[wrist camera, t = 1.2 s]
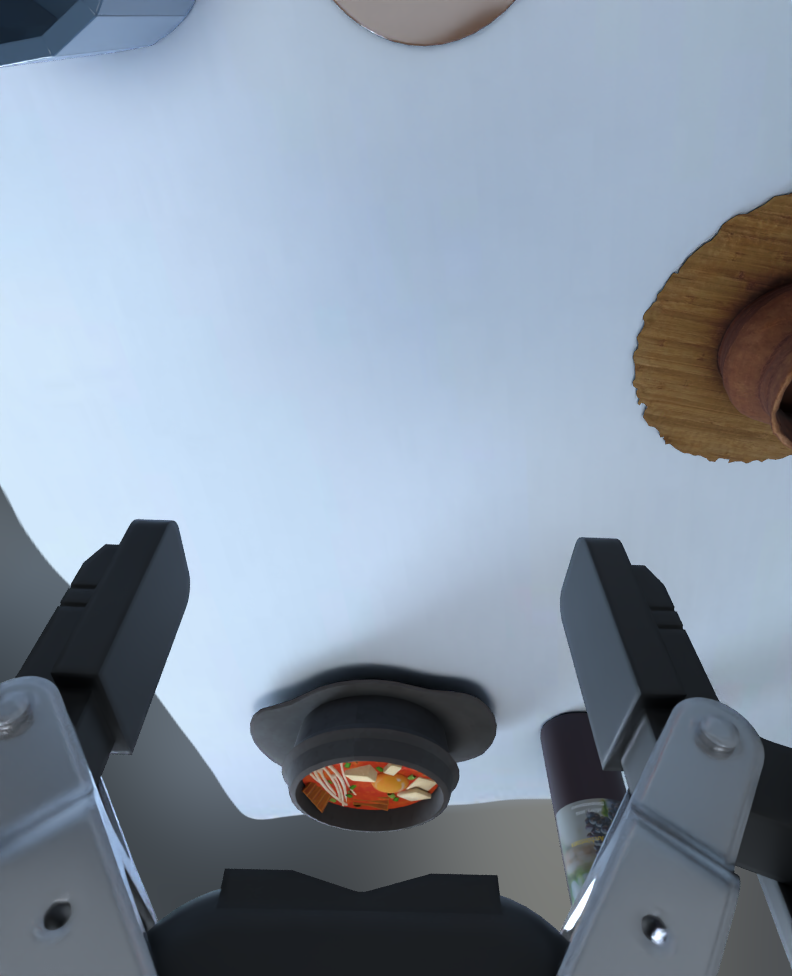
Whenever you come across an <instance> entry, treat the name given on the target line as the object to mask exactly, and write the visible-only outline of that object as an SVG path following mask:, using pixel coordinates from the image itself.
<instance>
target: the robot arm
mask: <svg viewBox="0 0 792 976" xmlns="http://www.w3.org/2000/svg"><path fill="white" fill-rule="evenodd" d="M189 592H190V576H189V571H188V567H187V562H186V558H185V553H184V549H183V545H182V540H181V536H180V531H179V528H178V525H177V523H176V522H175V521H170V520H144V519H136V520H134V521H133V522H132V523H131V524H130V526H129V528H128V529H127V531H126V533H125V535H124V537H123V539H122V541H121V542H120V544H119V545H111V544H105V545H104V546H103V547H102V548H100V549H99V550H98V551H97V552H96V553H94V554H93V555H92V556H91V557H90V558H89V559H87V560H86V561H85V562H84V563H83V565H82V566H81V568H80V570H79V571H78V573H77V575H76V576H75V578H74V580H73V581H72V583H71V588H70V589H68V590H67V592H66V593H65V595H64V597H63V598H62V600H61V605H60V607H59V606H58V607H57V609H56V610H55V612H54V614H53V616H52V617H51V619H50V620H49V622H48V624H47V625H46V627H45V629H44V631H43V632H42V634H41V636H40V637H39V639H38V641H37V643H36V644H35V646H34V648H33V649H32V651H31V653H30V654H29V656H28V658H27V659H26V661H25V663H24V665H23V666H22V668H21V670H20V671H19V673H18V674H17V676H16V677H15V678H14V679H11V680H8V681H5V682H3V683H0V976H717V974H718V971H719V967H720V964H721V960H722V956H723V952H724V949H725V945H726V941H727V938H728V934H729V930H730V926H731V923H732V919H733V915H734V912H735V907H736V904H737V900H738V895H739V891H740V878H739V876H738V875H737V874H735V873H734V867H735V866H738V867H741V868H743V869H746V870H749V871H751V872H754V873H757V876H758V878H759V881H760V884H761V886H762V889H763V892H764V895H765V897H766V900H767V903H768V906H769V908H770V911H771V914H772V916H773V919H774V922H775V925H776V927H777V930H778V933H779V935H780V938H781V941H782V944H783V947H784V949H785V952H786V955H787V957H788V960H789V963H790V966H791V968H792V748H789V747H786V746H783V745H780V744H777V743H774V742H771V741H768V740H766V739H763V738H761V737H759V735H758V734H757V732H756V731H755V729H754V728H753V726H752V725H751V724H750V723H749V722H748V721H747V720H746V719H745V718H744V717H743V716H742V715H741V714H739V713H738V712H737V711H735V710H734V709H732V708H731V707H729V706H727V705H725V704H723V703H721V702H720V701H719V700H718V698H717V696H716V694H715V692H714V690H713V688H712V685H711V683H710V681H709V679H708V677H707V675H706V673H705V671H704V669H703V666H702V664H701V662H700V660H699V658H698V656H697V654H696V652H695V649H694V647H693V645H692V643H691V641H690V639H689V637H688V635H687V633H686V630H683V624H682V622H681V620H680V618H679V616H678V614H677V611H674V605H673V603H672V601H671V599H670V597H669V595H668V592H667V590H666V588H665V586H664V585H663V584H662V583H661V582H660V581H659V580H658V579H657V578H656V577H655V576H654V574H653V573H652V572H651V571H650V570H649V569H648V568H647V567H646V566H643V565H631V563H630V561H629V559H628V556H627V554H626V552H625V549H624V547H623V545H622V543H621V542H620V540H618V539H611V538H585V537H581V538H579V539H578V540H577V542H576V544H575V547H574V550H573V554H572V557H571V560H570V563H569V567H568V570H567V573H566V577H565V580H564V583H563V586H562V590H561V596H560V612H561V619H562V623H563V626H564V630H565V634H566V637H567V641H568V645H569V648H570V652H571V656H572V659H573V663H574V667H575V670H576V674H577V678H578V681H579V685H580V689H581V692H582V696H583V700H584V703H585V707H586V711H587V714H588V718H589V722H590V725H591V729H592V733H593V736H594V740H595V744H596V747H597V751H598V755H599V758H600V762H601V766H602V769H603V771H624V774H625V777H626V780H627V784H628V787H629V788H628V790H627V792H626V793H625V795H624V798H623V800H622V802H621V804H620V806H619V808H618V811H617V813H616V815H615V817H614V819H613V821H612V824H611V826H610V828H609V830H608V832H607V834H606V837H605V839H604V841H603V843H602V845H601V847H600V849H599V852H598V854H597V856H596V858H595V860H594V862H593V865H592V867H591V869H590V871H589V873H588V875H587V878H586V880H585V882H584V884H583V886H582V888H581V890H580V892H579V894H578V896H577V898H576V899H575V901H574V903H573V905H572V907H571V910H570V911H569V914H568V916H567V918H566V920H565V922H564V924H563V926H562V928H561V930H560V932H559V931H558V930H556V928H554V927H553V926H552V925H551V924H550V923H548V922H547V921H546V920H545V919H543V918H542V917H541V916H539V915H538V914H536V913H535V912H533V911H532V910H530V909H529V908H527V907H526V906H523V905H521V904H519V903H517V902H515V901H513V900H511V899H509V898H506V897H503V896H500V893H499V885H498V877H497V875H463V874H428V875H425V876H422V877H418V878H414V879H410V880H407V881H403V882H400V883H396V884H392V885H389V886H386V887H381V888H378V889H374V890H371V891H366V892H357V891H353V890H350V889H347V888H344V887H341V886H338V885H335V884H332V883H329V882H326V881H323V880H320V879H317V878H314V877H311V876H308V875H305V874H302V873H299V872H296V871H293V870H258V869H256V870H255V869H225V871H224V876H223V881H222V886H221V889H219V890H215V891H212V892H209V893H206V894H204V895H202V896H199V897H197V898H194V899H192V900H191V901H189V902H187V903H185V904H184V905H182V906H180V907H178V908H176V909H175V910H174V911H172V912H171V913H170V914H168V915H167V916H166V917H164V918H163V919H161V920H160V921H159V922H158V920H157V918H156V915H155V913H154V910H153V908H152V905H151V902H150V900H149V898H148V895H147V893H146V891H145V888H144V886H143V884H142V881H141V879H140V877H139V874H138V872H137V869H136V867H135V864H134V862H133V859H132V856H131V854H130V851H129V848H128V845H127V843H126V840H125V837H124V835H123V832H122V830H121V827H120V824H119V821H118V819H117V816H116V814H115V811H114V808H113V805H112V803H111V800H110V797H109V795H108V792H107V789H106V787H105V784H104V782H103V779H102V777H101V775H102V773H103V770H104V768H105V765H106V763H107V760H108V758H109V755H110V754H116V755H118V754H119V755H132V753H133V750H134V747H135V745H136V742H137V739H138V736H139V734H140V731H141V728H142V725H143V723H144V720H145V717H146V714H147V712H148V709H149V707H150V704H151V701H152V698H153V696H154V693H155V690H156V688H157V685H158V682H159V679H160V677H161V674H162V671H163V669H164V666H165V663H166V660H167V658H168V655H169V652H170V650H171V647H172V644H173V641H174V639H175V636H176V633H177V631H178V628H179V625H180V622H181V620H182V617H183V614H184V612H185V609H186V606H187V603H188V598H189Z"/></svg>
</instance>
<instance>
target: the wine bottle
mask: <svg viewBox="0 0 792 976" xmlns="http://www.w3.org/2000/svg"><path fill="white" fill-rule="evenodd" d="M541 744H542V749H543V755H544V760H545V766H546V771H547V777H548V782H549V788H550V793H551V798H552V804H553V809H554V815H555V820H556V825H557V831H558V836H559V842H560V847H561V853H562V858H563V864H564V869H565V875H566V880H567V886H568V891H569V896H570V901H571V907H572V905H573V903H574V901H575V899H576V898H577V896H578V894H579V892H580V890H581V888H582V886H583V884H584V882H585V880H586V878H587V875H588V873H589V871H590V869H591V867H592V865H593V862H594V860H595V858H596V856H597V854H598V852H599V849H600V847H601V845H602V843H603V841H604V839H605V837H606V834H607V832H608V830H609V828H610V826H611V824H612V821H613V819H614V817H615V815H616V813H617V811H618V808H619V806H620V804H621V802H622V800H623V798H624V795H625V793H626V788H625V785H624V781H623V777H622V774H621V771H603V769H602V766H601V762H600V758H599V755H598V751H597V747H596V744H595V740H594V736H593V733H592V729H591V725H590V722H589V718H588V714H587V713H570V714H564V715H560V716H558V717H555V718H553V719H551V720H549V721H548V722H547V723H546V724H545V725H544V726H543V727H542V730H541Z"/></svg>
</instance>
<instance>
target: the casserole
mask: <svg viewBox="0 0 792 976" xmlns="http://www.w3.org/2000/svg"><path fill="white" fill-rule="evenodd" d="M496 727H497V725H496V721H495V718H494V715H493V713H492V712H491V710H490V709H489V707H488V706H487V705H486V704H485V703H484V702H482V701H481V700H480V699H479V698H476V697H474V696H471V695H469V694H466V693H460V692H453V691H440V690H430V689H426V688H421V687H417V686H413V685H408V684H404V683H399V682H395V681H386V680H375V679H371V680H350V681H343V682H336V683H332V684H329V685H325V686H322V687H318V688H316V689H314V690H312V691H310V692H308V693H305V694H303V695H301V696H299V697H297V698H295V699H293V700H290V701H287V702H284V703H280V704H277V705H273V706H270V707H267V708H263V709H261V710H259V711H258V712H257V713H256V714H255V715H253V718H252V720H251V723H250V731H251V735H252V738H253V740H254V743H255V744H256V745H257V747H258V748H259V749H260V750H261V752H263V753H264V754H265V755H266V756H267V757H268V758H269V759H271V760H272V761H273V762H275V763H277V764H278V765H280V766H282V775H283V778H284V781H285V782H286V784H287V785H288V788H289V794H290V797H291V800H292V802H293V804H294V805H295V806H296V808H297V809H298V810H300V811H301V812H302V813H303V814H305V815H306V816H308V817H310V818H311V819H313V820H315V821H318V822H320V823H323V824H325V825H328V826H332V827H336V828H340V829H345V830H351V831H360V832H389V831H398V830H403V829H408V828H412V827H415V826H419V825H422V824H424V823H426V822H428V821H430V820H433V819H434V818H435V817H437V816H438V815H440V814H441V813H442V812H443V811H444V809H445V808H446V807H447V805H448V802H449V800H450V796H451V792H452V791H453V790H454V789H455V788H456V786H457V783H458V781H459V769H458V766H457V762H462V761H466V760H469V759H472V758H475V757H478V756H480V755H482V754H483V753H484V752H485V751H486V750H487V749H488V748H489V747H490V746H491V744H492V743H493V740H494V738H495V736H496Z"/></svg>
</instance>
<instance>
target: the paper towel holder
mask: <svg viewBox="0 0 792 976" xmlns="http://www.w3.org/2000/svg"><path fill="white" fill-rule="evenodd" d="M333 1H334V2H335V3H336V4H337V5H338V6H339V7H340V8H341V9H342V10H343V11H344V12H345V13H346V14H347V15H348V16H349V17H350V18H352V19H353V20H354V21H355V22H357V23H358V24H359V25H360V26H362V27H363V28H365V29H367V30H369V31H370V32H372V33H374V34H375V35H377V36H380V37H382V38H385V39H387V40H390V41H392V42H397V43H401V44H406V45H413V46H433V45H442V44H446V43H450V42H453V41H457V40H460V39H462V38H465V37H467V36H469V35H471V34H474V33H476V32H477V31H479V30H480V29H482V28H484V27H485V26H487V25H489V24H490V23H491V22H493V21H494V20H495V19H496V18H498V17H499V16H500V15H501V14H502V13H504V12H505V11H506V10H507V9H508V8H509V7H510V6H511V5H512V4H513V3H514V1H515V0H333Z"/></svg>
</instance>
